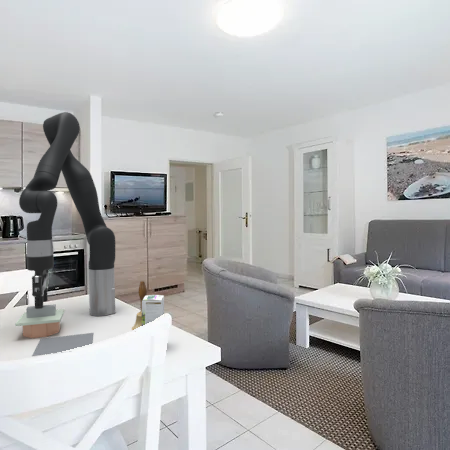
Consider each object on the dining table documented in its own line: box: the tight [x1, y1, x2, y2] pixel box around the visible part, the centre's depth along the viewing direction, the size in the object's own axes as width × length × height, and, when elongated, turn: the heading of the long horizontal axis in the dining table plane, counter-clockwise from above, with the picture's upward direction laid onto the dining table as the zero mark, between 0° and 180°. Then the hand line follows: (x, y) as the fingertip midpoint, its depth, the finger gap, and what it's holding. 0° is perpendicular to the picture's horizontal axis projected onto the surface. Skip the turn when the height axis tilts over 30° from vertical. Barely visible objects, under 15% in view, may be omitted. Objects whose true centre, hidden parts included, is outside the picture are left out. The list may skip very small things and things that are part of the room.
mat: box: [31, 332, 95, 357], centre depth 100 cm, size 15×13×1 cm
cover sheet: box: [15, 303, 66, 327], centre depth 109 cm, size 12×12×4 cm
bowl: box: [22, 321, 61, 339], centre depth 109 cm, size 10×10×5 cm
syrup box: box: [142, 294, 165, 326], centre depth 98 cm, size 6×6×14 cm
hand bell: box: [131, 280, 148, 331], centre depth 112 cm, size 8×8×16 cm
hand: (41, 304), depth 109 cm, fingers open, 8 cm apart
